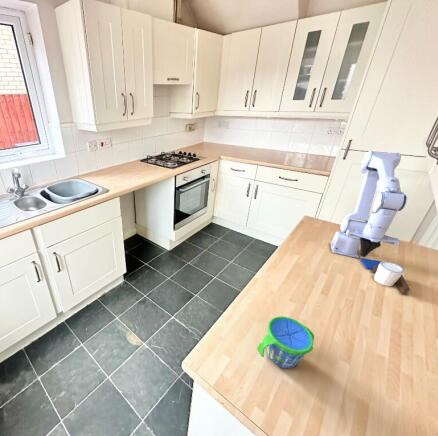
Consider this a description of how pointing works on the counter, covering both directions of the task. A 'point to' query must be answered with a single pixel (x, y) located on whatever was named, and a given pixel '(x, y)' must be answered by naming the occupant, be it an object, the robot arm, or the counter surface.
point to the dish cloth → (370, 263)
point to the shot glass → (388, 273)
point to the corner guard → (397, 282)
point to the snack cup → (286, 341)
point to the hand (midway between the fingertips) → (362, 255)
